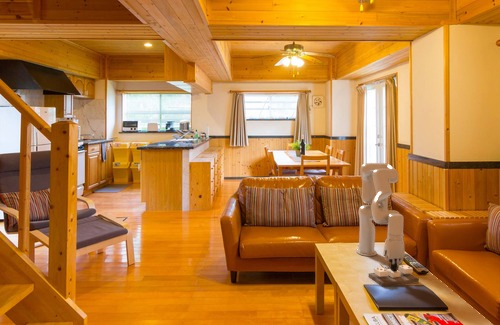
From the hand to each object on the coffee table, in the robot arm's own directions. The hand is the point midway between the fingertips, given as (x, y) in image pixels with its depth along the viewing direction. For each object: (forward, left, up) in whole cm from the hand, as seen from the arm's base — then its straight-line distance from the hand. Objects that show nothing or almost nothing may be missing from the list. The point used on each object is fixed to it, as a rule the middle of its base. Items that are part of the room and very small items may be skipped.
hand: (393, 270), depth 180 cm
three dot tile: (0, -8, -1) cm, 8 cm away
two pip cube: (0, +8, -1) cm, 8 cm away
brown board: (0, 0, -5) cm, 5 cm away
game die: (-15, +13, -5) cm, 21 cm away
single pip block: (0, 0, -3) cm, 3 cm away
